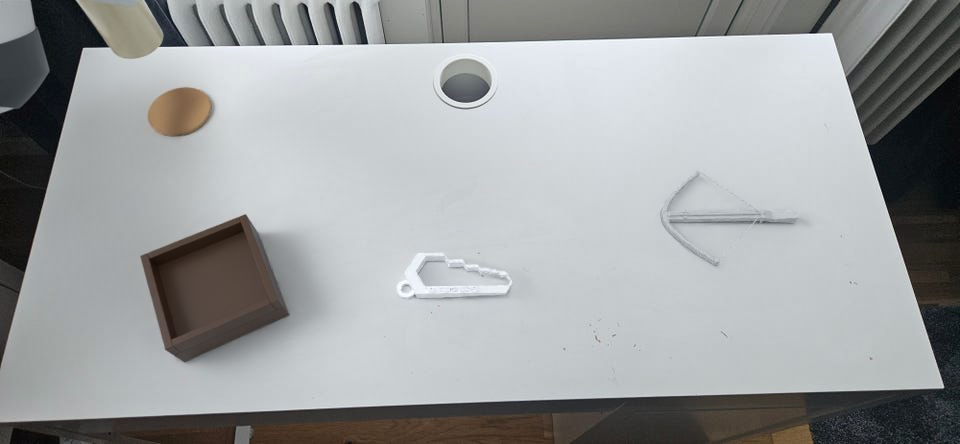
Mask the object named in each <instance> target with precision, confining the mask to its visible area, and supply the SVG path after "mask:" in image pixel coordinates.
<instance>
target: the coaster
mask: <svg viewBox="0 0 960 444" xmlns="http://www.w3.org/2000/svg"><path fill="white" fill-rule="evenodd" d="M211 111H212V103H211V100H210V99H209V97H208V96H207V94H206V93H205V92H204V91H202V90H200V89H197V88H195V87H177V88H174V89H170V90H168V91H166V92H163V93H162V94H160V95H159V96H158V97H156V98H155V99H154V101H153V102H152V103H151V104H150V106H149V109H148V111H147V121H148V123H149V125H150V127H151V128H152V129H153V130H154V131H155V132H156V133H158V134H160V135H162V136H167V137H181V136H185V135H189V134H191V133H193V132H195V131H196V130H198V129H200V128H201V127H202V126H203V125H204V124H205V123H206V122H207V121H208V119H209V117H210V115H211Z"/></svg>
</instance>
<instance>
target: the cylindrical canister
mask: <svg viewBox="0 0 960 444" xmlns="http://www.w3.org/2000/svg"><path fill="white" fill-rule="evenodd" d="M75 2H76V4H78V6H79V7H80V8H81V10H82V11H83V13H84V14H85V15H86V17H87V18H88V20H89V21H90V22H91V24H92V25H93V26H94V28H95V29H96V31H97V32H98V33H99V35H100V37H101V38H102V39H103V40H104V42H105V43H106V45H107V46H108V47H109V49H110V50H111V51H112V53H113V54H114V55H116V56H117V57H119V58H122V59H127V60H134V59H140V58H144V57H146V56H149V55H150V54H152V53H154V52H155V51H156V50H157V49H159V47H160V46H161V45H162V43H163V40H164V32H163V29H162V28H161V26H160V24H159V23H158V21H157V19H156V17H155V16H154V14H153V12H152V11H151V9H150V8H149V6H148V4H147V2H146V1H145V0H138V2H137V4H136V5H134V6H121V5H115V4H108V3H102V2H96V1H90V0H75Z"/></svg>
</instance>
